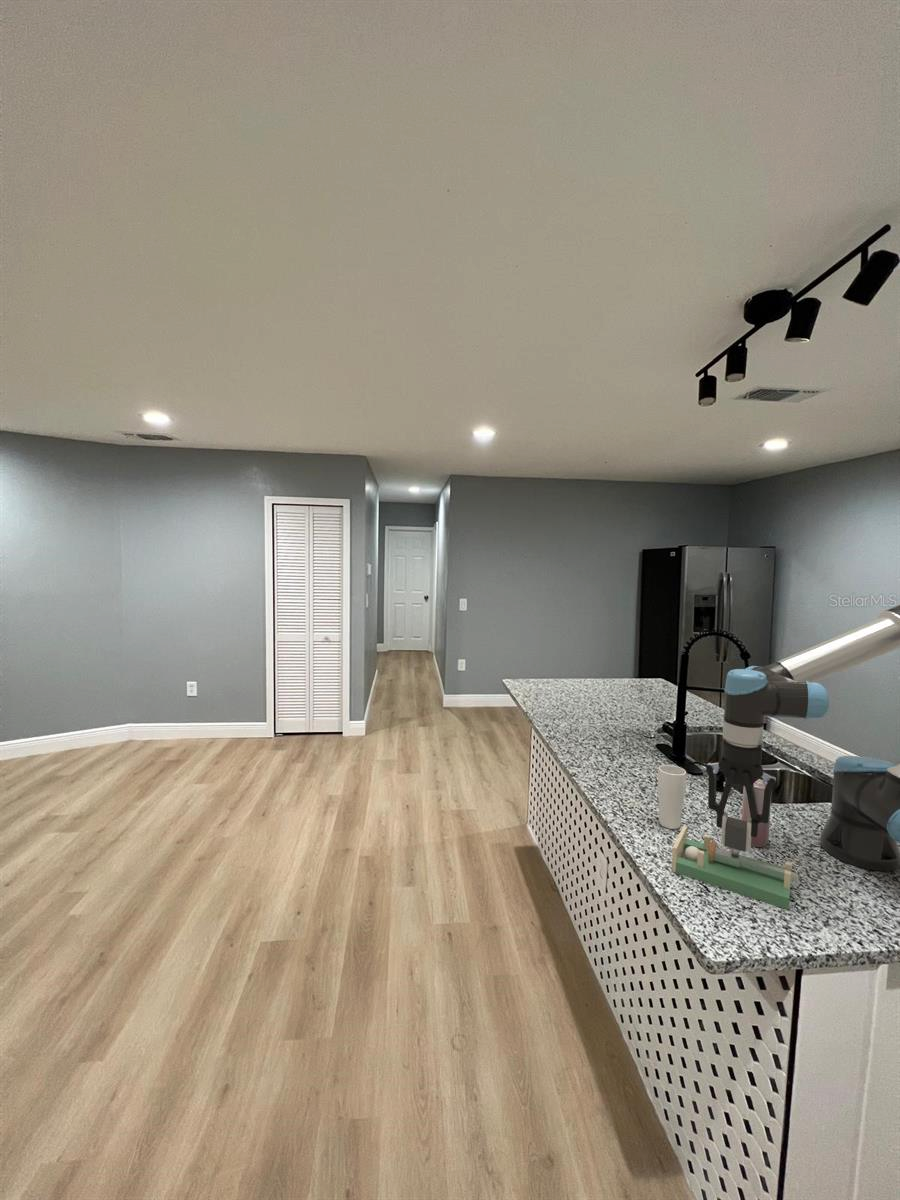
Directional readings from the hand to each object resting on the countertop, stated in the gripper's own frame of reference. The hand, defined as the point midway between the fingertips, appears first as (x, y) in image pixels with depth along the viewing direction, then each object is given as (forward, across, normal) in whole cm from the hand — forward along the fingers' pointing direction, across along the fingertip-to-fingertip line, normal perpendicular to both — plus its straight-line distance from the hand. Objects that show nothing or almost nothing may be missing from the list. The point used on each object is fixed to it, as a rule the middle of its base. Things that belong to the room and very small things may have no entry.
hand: (735, 845), depth 114 cm
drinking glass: (+7, +17, -16) cm, 24 cm away
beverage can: (+7, -2, -20) cm, 21 cm away
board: (+7, +1, 0) cm, 7 cm away
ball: (+5, +8, 0) cm, 10 cm away
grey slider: (+4, -3, 0) cm, 5 cm away
